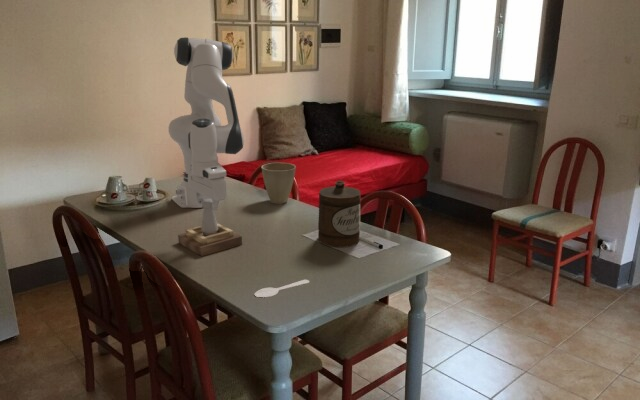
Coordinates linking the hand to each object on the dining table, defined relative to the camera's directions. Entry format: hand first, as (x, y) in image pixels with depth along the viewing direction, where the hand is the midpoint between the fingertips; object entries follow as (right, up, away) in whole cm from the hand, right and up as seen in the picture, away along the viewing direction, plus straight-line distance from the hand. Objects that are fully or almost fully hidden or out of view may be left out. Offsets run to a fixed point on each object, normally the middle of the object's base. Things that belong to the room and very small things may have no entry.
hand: (207, 207), depth 181 cm
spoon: (+28, -24, -28) cm, 46 cm away
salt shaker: (0, -10, +3) cm, 11 cm away
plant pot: (+21, +2, +52) cm, 56 cm away
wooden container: (+46, -12, +8) cm, 48 cm away
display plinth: (0, -13, +4) cm, 14 cm away
